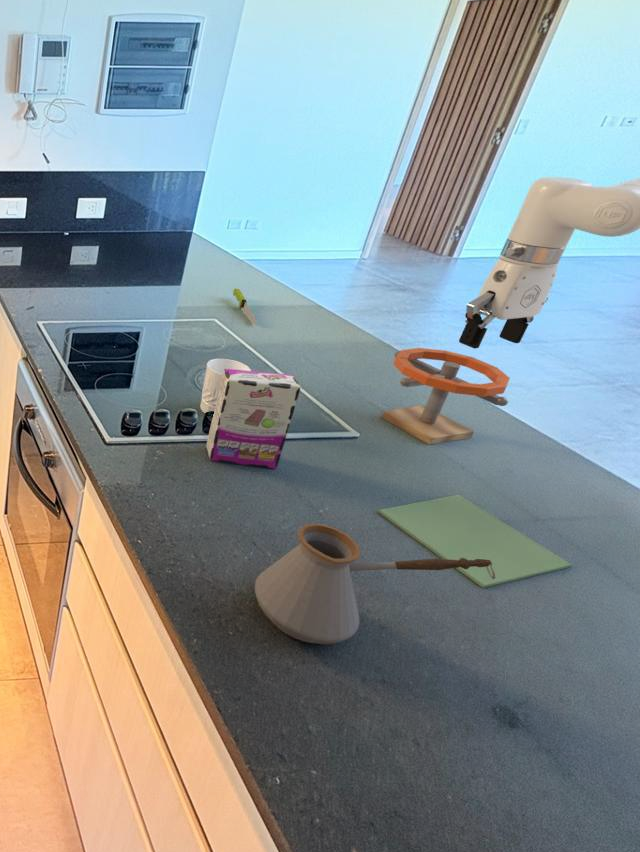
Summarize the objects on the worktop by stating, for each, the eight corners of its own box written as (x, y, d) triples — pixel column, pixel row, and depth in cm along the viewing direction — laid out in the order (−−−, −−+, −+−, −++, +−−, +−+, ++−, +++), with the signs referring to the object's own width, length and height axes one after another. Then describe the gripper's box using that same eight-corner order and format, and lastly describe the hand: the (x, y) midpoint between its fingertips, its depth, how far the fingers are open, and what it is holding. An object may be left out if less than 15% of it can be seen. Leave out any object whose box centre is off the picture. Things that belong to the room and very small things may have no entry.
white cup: (226, 400, 128) (237, 357, 124) (247, 420, 121) (259, 375, 117) (190, 402, 128) (199, 359, 124) (208, 422, 121) (219, 377, 117)
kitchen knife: (257, 331, 164) (260, 321, 162) (252, 331, 164) (255, 321, 163) (236, 296, 183) (238, 287, 181) (231, 296, 183) (234, 287, 181)
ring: (439, 351, 123) (442, 344, 122) (528, 389, 109) (532, 381, 108) (373, 360, 119) (376, 353, 119) (457, 400, 105) (460, 392, 105)
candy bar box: (269, 454, 111) (294, 373, 104) (277, 470, 107) (303, 387, 100) (203, 445, 114) (223, 366, 106) (208, 461, 109) (229, 379, 102)
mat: (457, 496, 100) (458, 494, 100) (570, 567, 86) (572, 564, 86) (377, 512, 97) (378, 509, 97) (482, 588, 83) (484, 585, 83)
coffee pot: (253, 639, 76) (285, 547, 69) (245, 574, 85) (273, 487, 79) (464, 698, 69) (523, 601, 62) (430, 620, 78) (478, 529, 72)
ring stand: (396, 398, 129) (420, 339, 123) (501, 453, 111) (535, 387, 105) (336, 407, 126) (357, 347, 120) (434, 465, 108) (465, 398, 102)
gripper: (516, 262, 100) (473, 356, 108) (593, 255, 104) (546, 346, 112) (469, 249, 107) (432, 339, 115) (544, 243, 111) (502, 330, 118)
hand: (488, 342), depth 113 cm, fingers open, 9 cm apart
